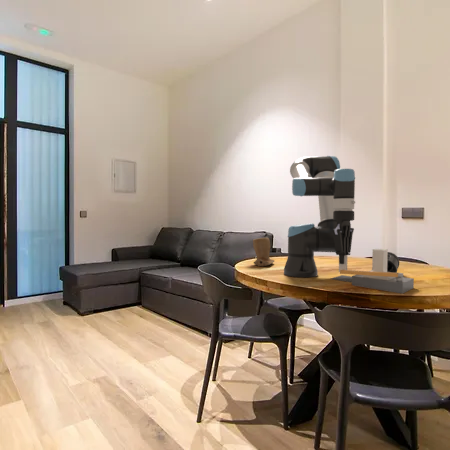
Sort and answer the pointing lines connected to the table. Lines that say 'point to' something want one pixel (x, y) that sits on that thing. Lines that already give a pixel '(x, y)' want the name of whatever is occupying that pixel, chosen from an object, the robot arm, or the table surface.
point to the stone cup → (262, 251)
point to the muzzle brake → (392, 263)
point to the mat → (343, 278)
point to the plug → (379, 263)
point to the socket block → (384, 283)
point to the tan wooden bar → (371, 273)
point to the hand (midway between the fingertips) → (343, 272)
